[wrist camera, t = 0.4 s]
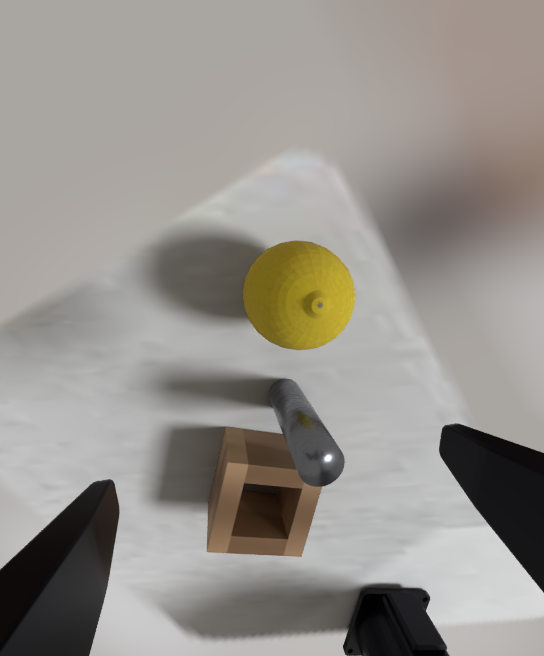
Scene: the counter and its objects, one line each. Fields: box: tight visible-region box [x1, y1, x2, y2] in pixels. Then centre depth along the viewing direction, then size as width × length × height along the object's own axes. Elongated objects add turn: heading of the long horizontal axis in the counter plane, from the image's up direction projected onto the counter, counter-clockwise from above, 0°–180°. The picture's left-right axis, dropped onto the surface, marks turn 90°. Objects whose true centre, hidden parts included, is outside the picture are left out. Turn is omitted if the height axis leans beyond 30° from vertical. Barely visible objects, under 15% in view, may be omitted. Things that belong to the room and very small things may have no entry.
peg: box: [269, 379, 345, 487], centre depth 18 cm, size 2×2×8 cm
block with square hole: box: [207, 427, 322, 557], centre depth 21 cm, size 6×6×4 cm
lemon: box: [243, 241, 355, 350], centre depth 17 cm, size 6×6×8 cm
